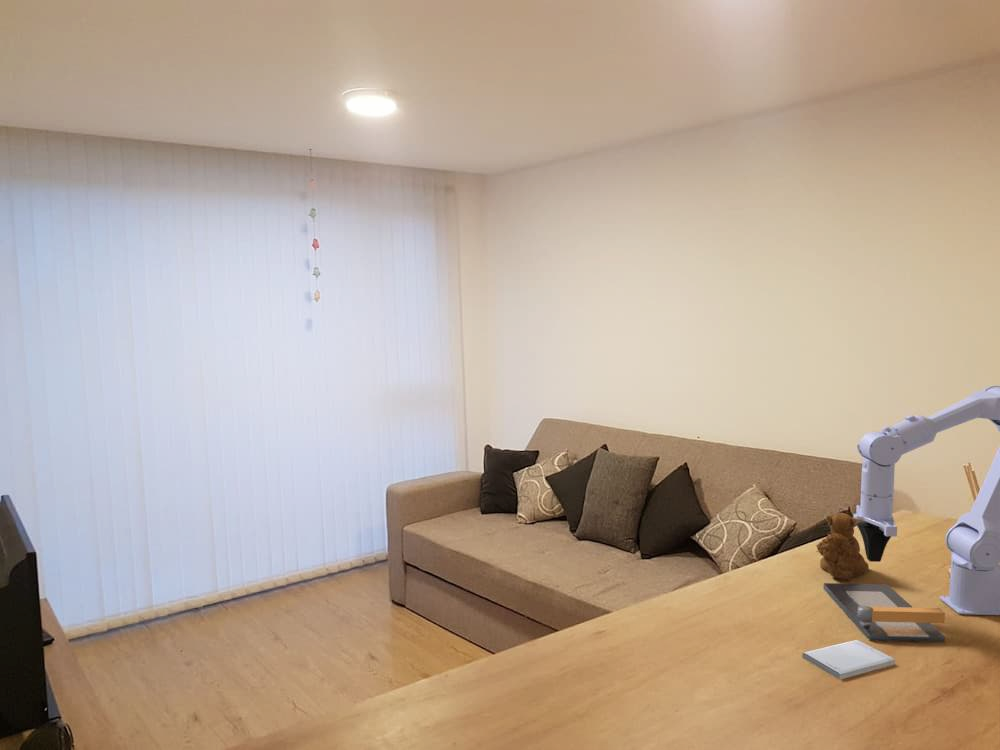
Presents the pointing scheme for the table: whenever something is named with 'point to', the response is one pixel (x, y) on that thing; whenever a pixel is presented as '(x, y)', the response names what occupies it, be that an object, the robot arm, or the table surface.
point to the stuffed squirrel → (841, 549)
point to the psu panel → (880, 596)
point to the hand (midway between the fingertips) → (873, 560)
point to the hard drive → (848, 659)
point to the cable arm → (900, 614)
